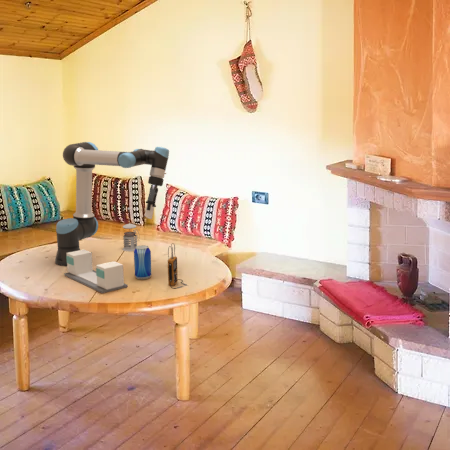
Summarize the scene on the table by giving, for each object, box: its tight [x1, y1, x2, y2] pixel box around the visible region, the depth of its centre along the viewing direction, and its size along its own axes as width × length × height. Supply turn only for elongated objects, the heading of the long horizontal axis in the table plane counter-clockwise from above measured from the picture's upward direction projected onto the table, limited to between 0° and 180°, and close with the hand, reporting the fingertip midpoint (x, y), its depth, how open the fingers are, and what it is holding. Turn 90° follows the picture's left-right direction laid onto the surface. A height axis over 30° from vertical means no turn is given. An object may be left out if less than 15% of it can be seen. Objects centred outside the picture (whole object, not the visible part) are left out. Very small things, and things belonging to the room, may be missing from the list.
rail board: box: [63, 249, 128, 294], centre depth 322 cm, size 38×14×12 cm, turn 41°
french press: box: [121, 207, 140, 252], centre depth 380 cm, size 10×12×25 cm
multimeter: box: [167, 243, 189, 289], centre depth 316 cm, size 15×10×20 cm
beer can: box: [133, 244, 152, 280], centre depth 327 cm, size 8×8×16 cm
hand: (148, 217), depth 331 cm, fingers open, 13 cm apart
